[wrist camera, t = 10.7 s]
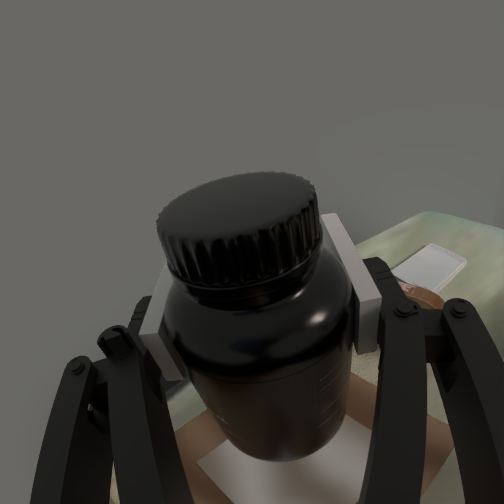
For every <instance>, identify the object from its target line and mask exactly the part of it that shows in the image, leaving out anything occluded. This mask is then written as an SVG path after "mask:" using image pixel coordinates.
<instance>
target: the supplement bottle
mask: <svg viewBox="0 0 504 504" xmlns="http://www.w3.org/2000/svg"><path fill="white" fill-rule="evenodd" d="M158 216H159V218H158V219H157V220H156V225H157V233H158V236H159V239H160V241H161V244H162V247H163V250H164V253H165V255H166V258H167V266H168V269H169V271H170V274H171V276H172V279H173V281H174V282H173V284H172V286H171V288H170V290H169V293H168V295H167V299H166V303H165V309H164V325H165V330H166V333H167V336H168V339H169V341H170V343H171V346H172V348H173V350H174V352H175V353H176V355H177V357H178V359H179V361H180V363H181V364H182V366H183V368H184V370H185V371H186V373H187V375H188V377H189V378H190V380H191V382H192V384H193V385H194V387H195V389H196V390H197V392H198V394H199V395H200V397H201V399H202V400H203V402H204V404H205V405H206V407H207V409H208V410H209V412H210V413H211V415H212V417H213V418H214V420H215V421H216V423H217V424H218V426H219V427H220V429H221V430H222V432H223V433H224V435H225V436H226V437H227V439H228V440H229V441H230V442H231V443H232V444H233V445H234V446H235V447H236V448H237V449H238V450H240V451H241V452H243V453H244V454H246V455H248V456H250V457H253V458H255V459H259V460H263V461H268V462H289V461H295V460H298V459H302V458H304V457H307V456H309V455H311V454H313V453H315V452H317V451H318V450H320V449H321V448H323V447H324V446H325V445H326V444H328V443H329V442H330V441H331V440H332V438H333V437H334V436H335V435H336V433H337V432H338V431H339V429H340V427H341V425H342V423H343V420H344V417H345V414H346V409H347V403H348V395H349V385H350V373H351V361H352V346H353V327H354V292H353V286H352V282H351V280H350V277H349V275H348V273H347V271H346V269H345V268H344V266H343V265H342V263H341V262H340V261H339V259H338V258H337V257H336V256H335V255H334V254H333V253H331V252H330V251H329V250H328V249H326V248H325V247H323V246H324V240H323V229H322V226H321V224H320V221H319V211H318V201H317V196H316V192H315V188H314V186H313V185H311V184H310V182H309V181H308V180H305V179H304V178H303V177H301V176H296V175H294V174H289V173H285V172H274V171H271V172H254V173H244V174H238V175H233V176H229V177H223V178H220V179H217V180H214V181H210V182H208V183H205V184H202V185H199V186H197V187H196V188H193V189H190V190H188V191H187V192H185V193H183V194H181V195H179V196H178V197H177V198H176V199H174V200H172V201H171V202H169V204H168V205H167V206H165V207H164V208H163V211H162V212H161V213H159V215H158Z"/></svg>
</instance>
